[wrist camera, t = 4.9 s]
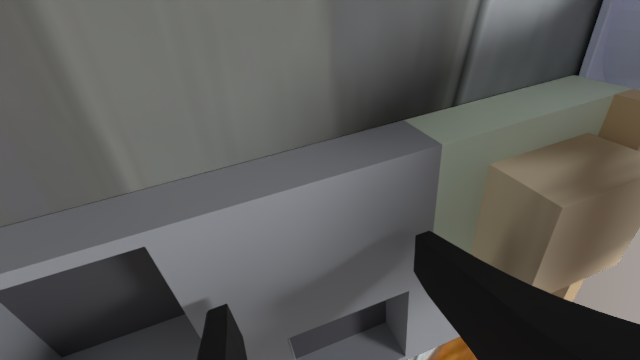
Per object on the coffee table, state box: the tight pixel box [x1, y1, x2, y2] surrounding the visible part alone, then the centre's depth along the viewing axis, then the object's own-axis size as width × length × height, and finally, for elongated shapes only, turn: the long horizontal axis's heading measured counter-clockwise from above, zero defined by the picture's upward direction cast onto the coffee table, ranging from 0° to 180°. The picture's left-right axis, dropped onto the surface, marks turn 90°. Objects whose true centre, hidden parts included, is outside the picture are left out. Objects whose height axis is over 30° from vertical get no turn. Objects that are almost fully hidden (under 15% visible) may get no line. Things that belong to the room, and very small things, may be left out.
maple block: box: [471, 133, 640, 293], centre depth 13 cm, size 5×5×3 cm
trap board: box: [0, 75, 640, 360], centre depth 14 cm, size 26×14×4 cm, turn 97°
